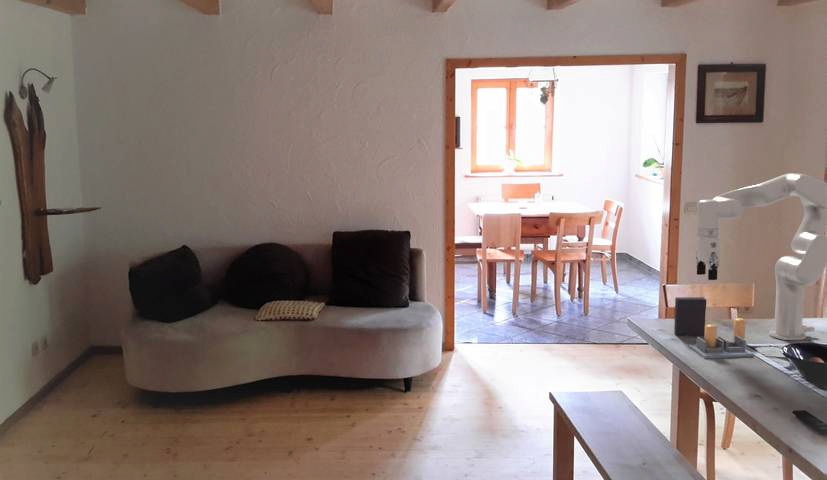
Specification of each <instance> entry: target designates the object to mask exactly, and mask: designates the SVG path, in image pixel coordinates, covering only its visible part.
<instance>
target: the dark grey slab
mask: <svg viewBox="0 0 827 480" xmlns="http://www.w3.org/2000/svg"><path fill="white" fill-rule="evenodd" d="M674 301H675V302H674V304H675V305H674V326H673V327H674V330H673V333H674V335H675V336H677V337H678V336H679V337H683V336H684V337H687V336H691V337H692V336H693V337H700V336H701V337H702V336H703V337H705V325H706V310H707V299H706V298H705V297H700V296H699V297H698V296H696V297H695V296H694V297H693V296H692V297H689V296H687V297H683V296H682V297H681V296H679V297H677V296H676V297H675V299H674Z"/></svg>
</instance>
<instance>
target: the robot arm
mask: <svg viewBox="0 0 827 480" xmlns="http://www.w3.org/2000/svg"><path fill="white" fill-rule="evenodd" d="M791 197H798V198H799V200H800V202H801V204H802V206H803V211H804V215H803V218H802V221H801V223H800V225H799V227H798V228H797V231H796V232H795V235H794V236H793V239H792V240H791V244H790V247H791V248H790V249H791V250H792V251H793V252H794V253H795V254H798V255H800V256H802V258H801V257H797V256H794V255H793V256H792V255H785V256H782V257H781V258H779V259H778V260H777V261H776V263H775V264H774V265H775V266H774V275H775V282H776V285H775V286H776V290H775V291H776V293H775V306H774V307H775V310H774V327H773V329H770V330H769V335H770V337H773V338H776V339H778V340H783V341H793V342H795V341H802V340H805V339H806V338H807V335H806V333H807V332H811V333H812V332H815V327H814V326H808V325H803V317H804V316H803V315H804V300H805V289H804V287H810V286H812V285H814V284H816V283H817V282H818V281H819V280H820V278H821V276H822V275H823V273H824V271H825V269H826V267H827V235H826V234H825V232H826V230H827V182H825V181H822V180H820V179H818V178H816V177H814V176H812V175H810V174H805V173H798V172H797V173H795V172H794V173H793V172H789V173H785V174H782V175H779V176H777V177H775V178H772V179H769V180H767V181H763V182H761V183H759V184H758V183H757V184H756V185H754V184H753V185H751V186H746V187H742V188H739V189H735V190H731V191H728V192H725V193H722V194H719V195H717V196H715V197H714V198H713V199H701V200H699V201H698V203H697V217H696V218H697V221H696V223H697V224H696V227H697V228H696V237H697V242H696V251H695V254H696V257H695V259H696V275H698V276H699V275H706V272H707V274H708V275H707V280H708V281H717V280H718V269H719V266H720V265H719V263H720V262H721V261H720V259H721V255H720V254H721V253H720V241H719V235H720V233H719V232H720V231H719V230H720V229H719V228H720V219H724V220H736V219H738V218H740V217H741V216H742V214H743V213H744V208H757V207H758V208H759V207H765V206H766V207H767V206H770V205H772V204H774V203H776V202H779V201H783V200H784V199H788V198H791ZM706 265H707V266H708V269H707V270H706Z"/></svg>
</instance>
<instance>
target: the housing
mask: <svg viewBox="0 0 827 480" xmlns="http://www.w3.org/2000/svg"><path fill="white" fill-rule="evenodd" d="M717 328H718V326H717V325H715V324H711V323H710V324H705V335H704V336H703V337H704V339H703V338H701V337H700V336H696V344H688V348H689V349H690V350H692V351H693V352H695V353H696V354H697V355H699V356H700V357H702V359H703V358H704V359H722V358H723V359H724V358H726V359H727V358H746V357H755V356H754V355H755V353H753V352H751V350H749V349H746V339H745V340H744V339H742V338H741V337H739V336H737V335H735V342H733V341H729V340H728V339H726V338H724V337H722V336H721V335H717V330H718V329H717Z"/></svg>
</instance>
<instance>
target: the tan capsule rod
mask: <svg viewBox="0 0 827 480" xmlns="http://www.w3.org/2000/svg"><path fill="white" fill-rule="evenodd" d="M732 333H733V335H732V342H735V335H737V336H739V337H741V338H742V339H744V340H746V319H744V318H741V317H738V318H737V317H736V318H734V319H733V332H732Z"/></svg>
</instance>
